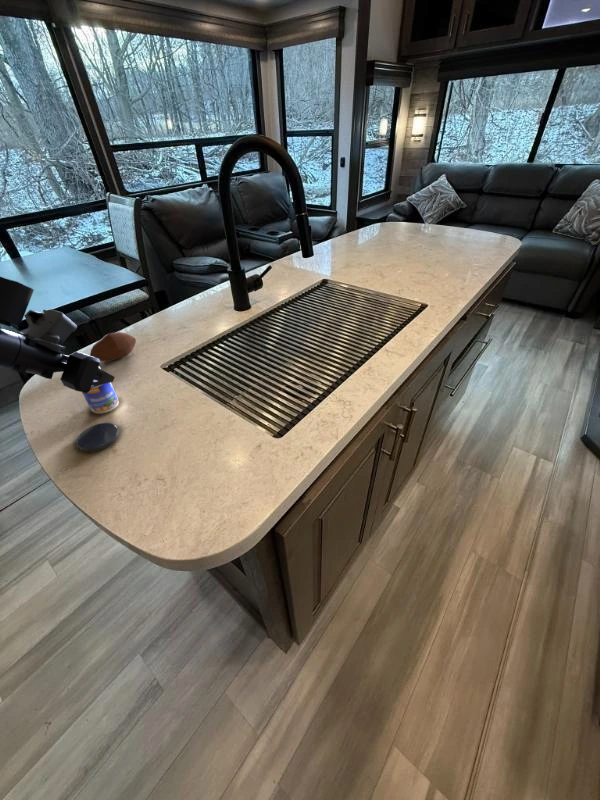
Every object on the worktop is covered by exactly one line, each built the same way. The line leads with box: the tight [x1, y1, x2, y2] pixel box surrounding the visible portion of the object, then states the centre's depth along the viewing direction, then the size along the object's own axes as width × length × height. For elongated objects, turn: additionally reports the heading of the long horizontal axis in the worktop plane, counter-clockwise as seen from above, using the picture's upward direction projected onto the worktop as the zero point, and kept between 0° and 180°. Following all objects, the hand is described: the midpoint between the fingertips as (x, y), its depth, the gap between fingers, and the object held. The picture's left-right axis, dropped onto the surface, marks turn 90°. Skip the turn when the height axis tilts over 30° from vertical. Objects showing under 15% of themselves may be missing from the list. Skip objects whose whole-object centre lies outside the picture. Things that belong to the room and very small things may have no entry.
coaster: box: [75, 422, 120, 453], centre depth 62 cm, size 7×7×1 cm
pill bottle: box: [81, 366, 119, 414], centre depth 67 cm, size 5×5×10 cm
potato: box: [89, 331, 137, 362], centre depth 84 cm, size 6×12×6 cm, turn 141°
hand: (97, 373), depth 67 cm, fingers open, 9 cm apart
